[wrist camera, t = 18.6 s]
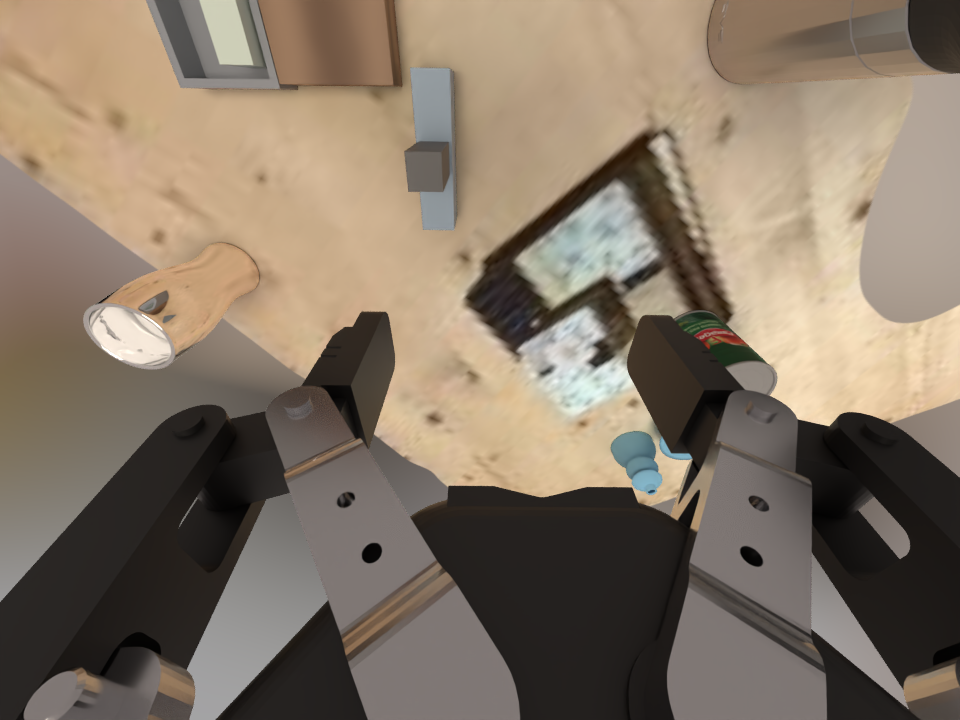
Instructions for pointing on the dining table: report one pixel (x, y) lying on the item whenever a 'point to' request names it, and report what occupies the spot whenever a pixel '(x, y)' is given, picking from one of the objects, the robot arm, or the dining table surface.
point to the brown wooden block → (333, 42)
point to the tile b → (233, 33)
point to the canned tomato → (730, 350)
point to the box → (208, 49)
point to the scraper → (433, 147)
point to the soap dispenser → (641, 459)
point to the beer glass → (170, 307)
